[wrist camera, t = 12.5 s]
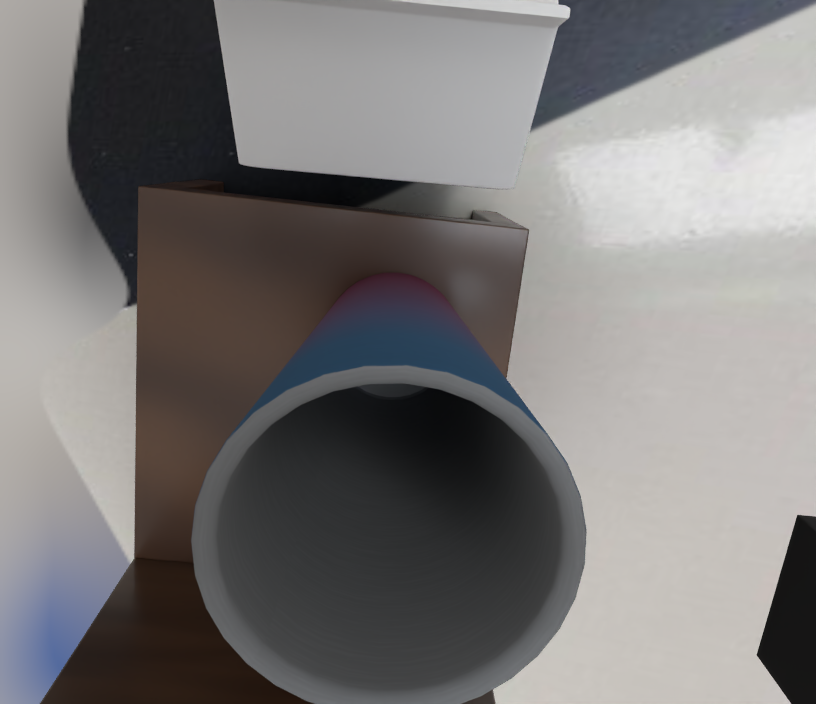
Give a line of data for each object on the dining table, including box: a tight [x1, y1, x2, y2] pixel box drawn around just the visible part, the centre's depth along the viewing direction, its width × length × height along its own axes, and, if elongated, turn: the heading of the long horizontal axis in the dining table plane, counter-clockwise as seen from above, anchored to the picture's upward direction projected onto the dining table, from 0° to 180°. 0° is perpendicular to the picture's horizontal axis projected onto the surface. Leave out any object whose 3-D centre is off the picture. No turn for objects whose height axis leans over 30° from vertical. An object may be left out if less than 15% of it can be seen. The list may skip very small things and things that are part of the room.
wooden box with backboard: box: [40, 179, 529, 704], centre depth 27 cm, size 16×14×18 cm
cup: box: [191, 273, 586, 704], centre depth 19 cm, size 7×7×15 cm
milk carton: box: [214, 0, 570, 189], centre depth 23 cm, size 7×7×19 cm
